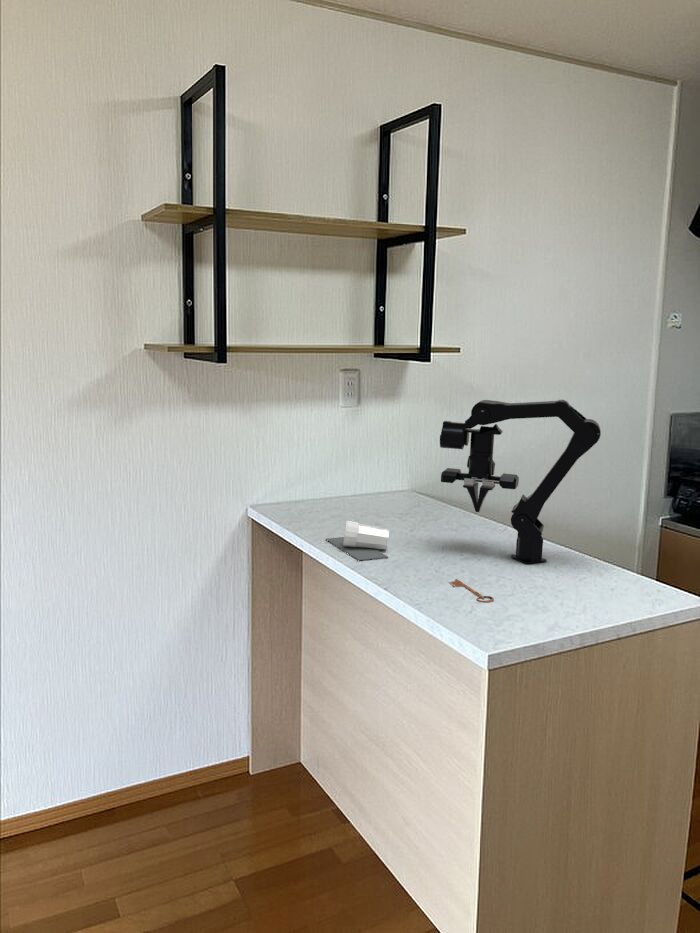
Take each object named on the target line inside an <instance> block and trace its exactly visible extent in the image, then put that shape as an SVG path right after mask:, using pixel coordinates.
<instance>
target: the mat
mask: <svg viewBox="0 0 700 933" xmlns="http://www.w3.org/2000/svg"><path fill="white" fill-rule="evenodd" d="M344 537H345V536H337V537H328V538H325V541H326V540H328V541H329V542H330V543H329V542H328V541H327V542H328V543H329V544H331V543H332V544H331V545H333V546H334V545H335V546H334V547H336V546H337V547H338V548H337V547H336V548H337V549H339V548H340V549H342V550H343V551H342V550H341V551H342V552H344V551H345V552H346V553H345V552H344V553H345V554H347V553H348V554H349V555H348V554H347V555H348V556H350V555H351V556H352V558H353V557H354V558H353V559H355V558H356V559H357V560H356V559H355V560H356V561H358V560H359V561H358V562H361V561H360V560H366V561H371V560H370V559H376V560H381V559H380V558H385V559H389V556H388V555H386V554H384V553H383V552H381V551H379V550H378V549H376V548H365V547H348V546H343V544H344ZM340 549H339V550H340ZM351 556H350V557H351Z"/></svg>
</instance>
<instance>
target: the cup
mask: <svg viewBox="0 0 700 933" xmlns="http://www.w3.org/2000/svg"><path fill="white" fill-rule="evenodd" d="M345 524H346V525H345V529H344V530H345V532H344V536H343V537H344V544H343V546H348V547H365V548H374V549H376V550H378V549H379V550H387V549H388V544H389V543H388V542H389V538H390V536H389V535H390V529H389V528H384V527H383V528H382V527H378V526H373V525H368V524H362V523H359V522H357V521H350V520H346V523H345Z"/></svg>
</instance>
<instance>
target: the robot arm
mask: <svg viewBox="0 0 700 933" xmlns="http://www.w3.org/2000/svg"><path fill="white" fill-rule="evenodd" d="M470 412H471V413H470V417H469V418H467V419H466V420H464V422H456V421H455V422H453V421H451V420H444V421H443V422H442V427H441V430H440V431H441V433H440V435H439V446H440V449H451V450H452V449H454V450H464V448H465V446H466V447H468V445H469V442H470V445H469V455H468V457H467V462H466V467H467V468H468V473H466V472H462V471H461V469H460V468H451V467H450V468H449V467H447V468H446V469H444V470H443V471H442V472H441V474H440V482H441V483H447V484H448V483H449V484H453V483H454V482H456V481H463V485H462V488H464V489H467V492H468V494H469V497H470V499H471V502H472V505H473V508H474V511H475V513H480V511H481V508H482V506H483V504H484V502H485V498H486V496H487V495H488V493H489V491H493V490H494V488H495V487H496V485H499V487H500V488H502V489H507V490H516V489H517V488H518V486H519V480H520V479H519V475H517V474H515V473H513V474H512V473H502V474H501V475H500V476H499V475H495V467H496V462H495V461H494V458H493V457H494V446H495V445H494V442H495V435H496V436H497V435H498V436H500V435H501V434H502V433H503V430H502V429H501V428H500V427H499V425H498V424H497V423H500V422H504V421H506V420H507V421H508V420H514V419H515V420H516V419H518V420H519V419H536V418H537V419H540V418H555V417H556V418H559V420H560V421H561V422H563V423H564V424H565V426H566V427H567V428H569V429H570V430H571V431H572V432H573V433H572V436H571V438H570V439H569V442H568V444H567V445H566V448H565V449H564V451H563V452H562V453H561V455H560V456H559V457H558V459H557V460H556V461H555V463H554V464H553V466H552V467H551V468H550V470H549V471H547V473H546V474H545V476H544V478H542V480H541V482H540V483H539V484H538V486H537V487H536V488H535V489H534V491H533V492H532V493H530V495H529V496H527V497H526V495H524V494H522V495H521V496H520V499H519V501H518V502H517V503H516V504H515V505H513V506H512V507H513V508H512V509H511V518H510V523H511V526H512V528H513V529H514V530H515V531H517V538H516V542H515V543H516V545H515V554H511V556H510V557H511V559H513V560H517V561H518V562H521V563H523V564H526V565H529V564H537V563H538V564H540V563H546V562H547V559H545V558H543V549H544V548H543V546H544V538H543V535H542V534H543V531H544V527H545V525H544V523H542V522H541V520H540V519H539V518H538V517H539V516H540V513H541V512H542V510H543V507H544V505H545V503H546V502H547V501H548V500H549V498H550V497H551V495H552V494H553V492H554V491H556V489H557V487H558V486H559V485H560V483H561V482H562V481H563V479H564V478H565V477H566V476H567V474H568V473H569V472H570V471H571V469H572V467H573V466H574V465H575V464H576V462H577V461H578V460H579V459H580V458H581V457H582V456H583V455H584V454H586V453H587V452H588V451H589V450H590V449H592V448H593V447H594V446H595V445H596V444H597V443H598V441H600V438H601V426H600V424H599V423H598V422H597V421H596V420H594V419H590V418H587V417H585V416H584V415H583V414H582V413H581V412H579V411H578V410H577V409H576V408H574V407H573V406H572V405H570V403H569V402H568V400H565V399H557V400H549V401H546V400H545V401H532V402H531V401H529V402H505V401H500V400H499V401H498V400H492V399H491V400H490V399H482V400H480V401H478V402H477V403H475V404H474V405H473V407H472V408H471V411H470ZM492 424H494V425H493V426H488V425H492ZM478 425H479V426H480V428H479V429H477V428H475V427H476V426H478ZM473 428H475V429H473ZM479 483H482V485H481V486H480V488H479Z"/></svg>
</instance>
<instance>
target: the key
mask: <svg viewBox="0 0 700 933" xmlns="http://www.w3.org/2000/svg"><path fill="white" fill-rule="evenodd" d="M447 583H448V584H449V585H450V586H451V587H452V588H464V589H466V590H468V591H469V592H470V593H472V595H474V596H476V597H477V598H476V602H478V603H483V604H489V603H492V602H493V601H494V600H495V599H494V597H492V596H489V595H485V596H484V595H482V594H481V593H480V592H478V591H477V590H474V589H473V588H472V587H470V586H469V585H466V584H465V583H464V582H463V581H461V580H459V579H458V578H455V579H454V581H453V580H452V581H450V582H449V581H448V582H447ZM480 599H481V600H480ZM485 599H488V600H485Z"/></svg>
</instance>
